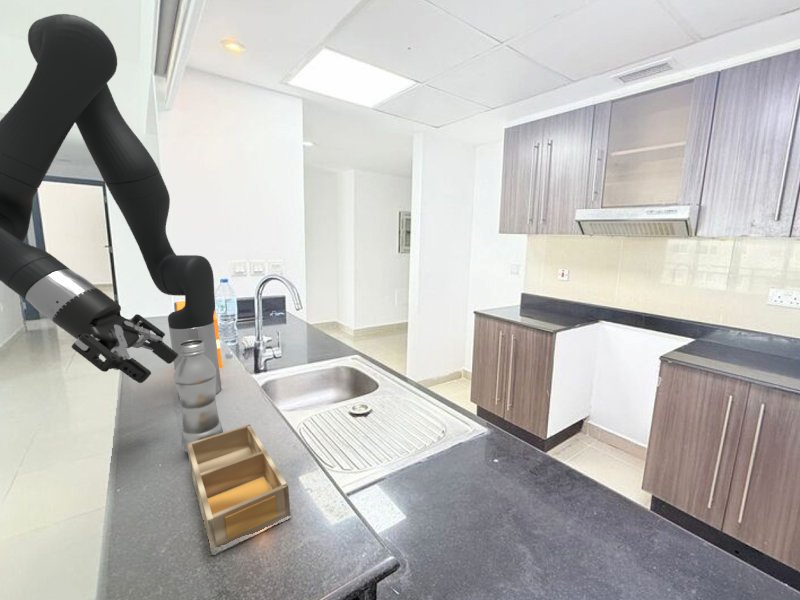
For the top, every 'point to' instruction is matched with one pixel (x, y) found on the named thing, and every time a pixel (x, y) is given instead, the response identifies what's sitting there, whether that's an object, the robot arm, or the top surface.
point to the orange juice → (182, 304)
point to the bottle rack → (236, 485)
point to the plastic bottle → (197, 393)
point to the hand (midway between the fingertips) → (161, 368)
